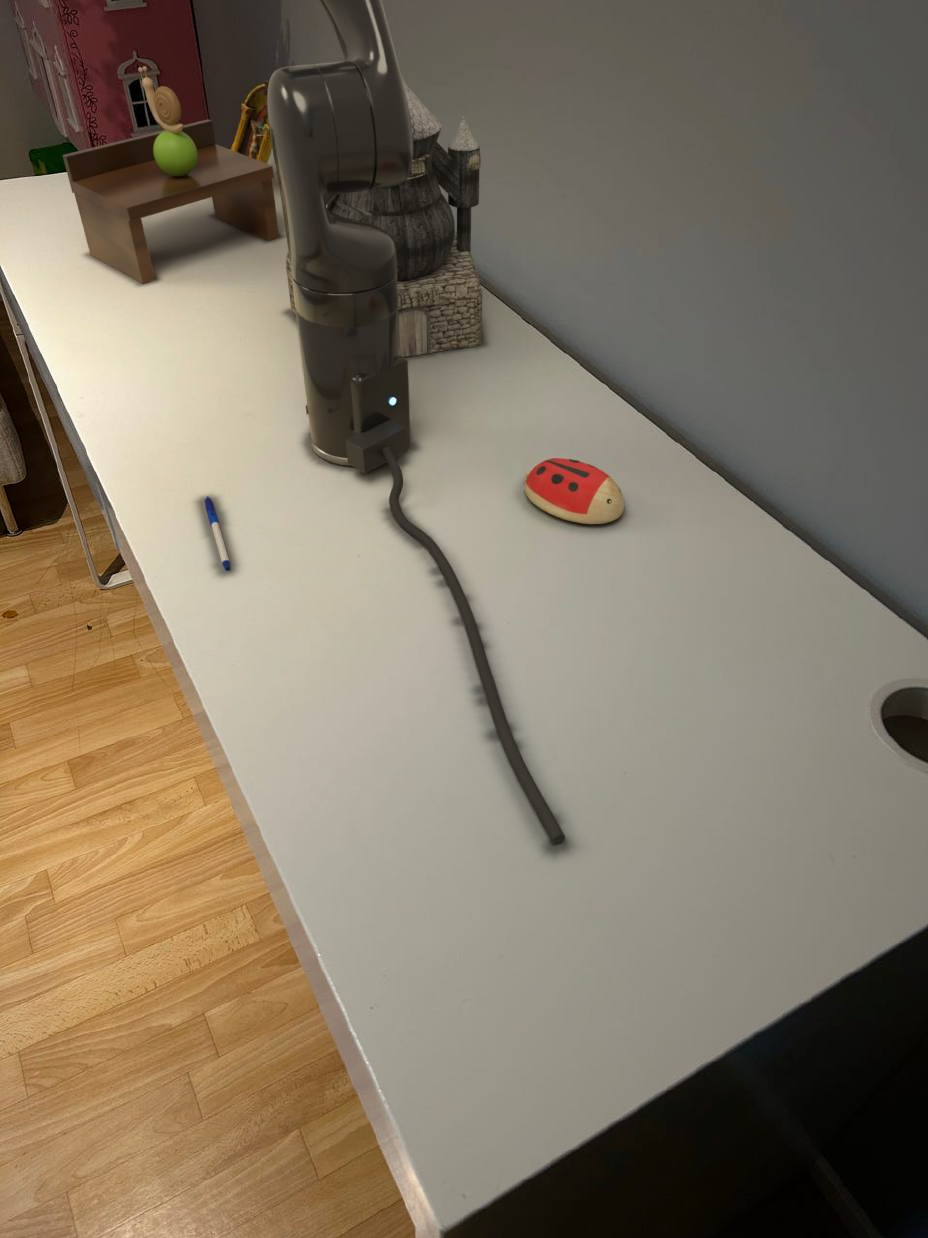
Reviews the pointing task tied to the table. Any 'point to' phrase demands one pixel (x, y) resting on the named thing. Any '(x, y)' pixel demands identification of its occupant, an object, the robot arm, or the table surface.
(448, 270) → the miniature castle
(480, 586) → the table surface
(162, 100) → the snail figurine
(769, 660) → the table surface
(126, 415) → the table surface
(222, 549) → the ballpoint pen
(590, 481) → the ladybug figurine
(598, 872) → the table surface
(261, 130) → the shrine
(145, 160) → the miniature wooden bench
